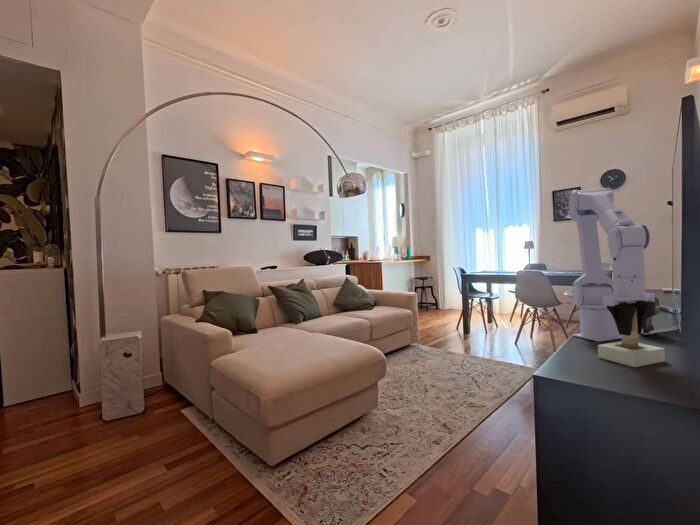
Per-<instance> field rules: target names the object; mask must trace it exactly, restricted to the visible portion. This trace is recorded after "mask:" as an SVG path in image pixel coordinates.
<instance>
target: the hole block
mask: <svg viewBox="0 0 700 525" xmlns="http://www.w3.org/2000/svg"><path fill="white" fill-rule="evenodd" d="M665 350H666V349H665V348H664V347H660V346H655V345H650V344H645V343H641V342H638V349H629V348H624V347H622V340H620V341H614V342H608V343H601V344H598V345H597V358H599V359H603V360H606V361H611V362H614V363H617V364H621V365H625V366H629V367H633V368H637V367H643V366H648V365H652V364H659V363H664V362H665V360H666V359H665V358H666V356H665Z"/></svg>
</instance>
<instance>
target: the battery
mask: <svg viewBox="0 0 700 525" xmlns="http://www.w3.org/2000/svg"><path fill="white" fill-rule="evenodd" d="M645 303H649V304H653V308H652V309H651V311H650V312H649V314H648V315H647V317H646V319H645V322H644V325H643V329H642V332H641V333H649V332H651V331H654V330H656V329H655V327H654V325H653V317H654V316H657V315H659V314H660V313H661V308H660V299H659V298H658V297H657V296H655V301H654V302H650V301H647V302H645Z"/></svg>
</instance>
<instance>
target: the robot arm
mask: <svg viewBox="0 0 700 525" xmlns="http://www.w3.org/2000/svg"><path fill="white" fill-rule="evenodd" d="M614 199H615V197H614V191H613V190H612V189H611V188H610V187H605V188H603V187H602V188H593V189H592V188H591V189H581V190H579V189H578V190H575V189H574V190H572V191H571V193H570V194H569V198H568V211H569V216H570V220H571V221H573V222H576V226H577V232H578V240H579V250H580V258H581V259H580V260H581V270H582V275H581V276H579V277H578V278H576V279H575V280H574V281H573V282H572V300H573V303H574V304H575V305H576V307H578V308H579V318H580V319H579V325H580V326H579V329H580V333H574V335H573V337H577V338H581V339H585V340H589V341H590V340H591V341H594V342H600V343H601V342H605V341H606V342H607V341H612V340H619V339H622V336H621V335H627V336H630V335H631V331H632V321H633V317H634V314H635V312H636V310H637V325H638V335H639V334H641V332H642V329H643V325H644V322H645V319H646V317H647V315H648V314H649V312H650V311H651V309H652V308H653V304H649V303H645V302H647V301H650V302H654V301H655V297H656V296H655V295H656V294H655V292H654V293H653V292H652V293H651V292H646V285H645V284H646V281H645V280H646V277H645V276H646V274H645V270H646V269H645V250H646V249H647V248H648V247H649V245H650V241H651V234H650V230H649V228H648V226H647V225H646V224H643V223H641V224H640V223H635V222H634V221H633V219H631V218H630V216H629V215H628V214H627V213H626V211H624V210H622V208H616V207H615V205H614V201H615V200H614ZM598 222H599V225H600V227H601V228H602V229H603V231H604V232H605V233H606V235H607V245H608V248H609V255H610V258H612V273H613V274H612V278H613V279H612V278H610V277H609V276H607V275H605V274H604V272H603V265H602V257H601V255H602V254H601V249H600V240H599V232H598V231H599V230H598Z"/></svg>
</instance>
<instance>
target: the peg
mask: <svg viewBox="0 0 700 525" xmlns="http://www.w3.org/2000/svg"><path fill="white" fill-rule="evenodd" d="M620 336H622V338H621V341H622V347H624V348H629V349H638V343H639V334H638V325H637V310H636V312H635V314H634V317H633V321H632V331H631V335H630V336H627V335H621V334H620Z"/></svg>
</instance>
